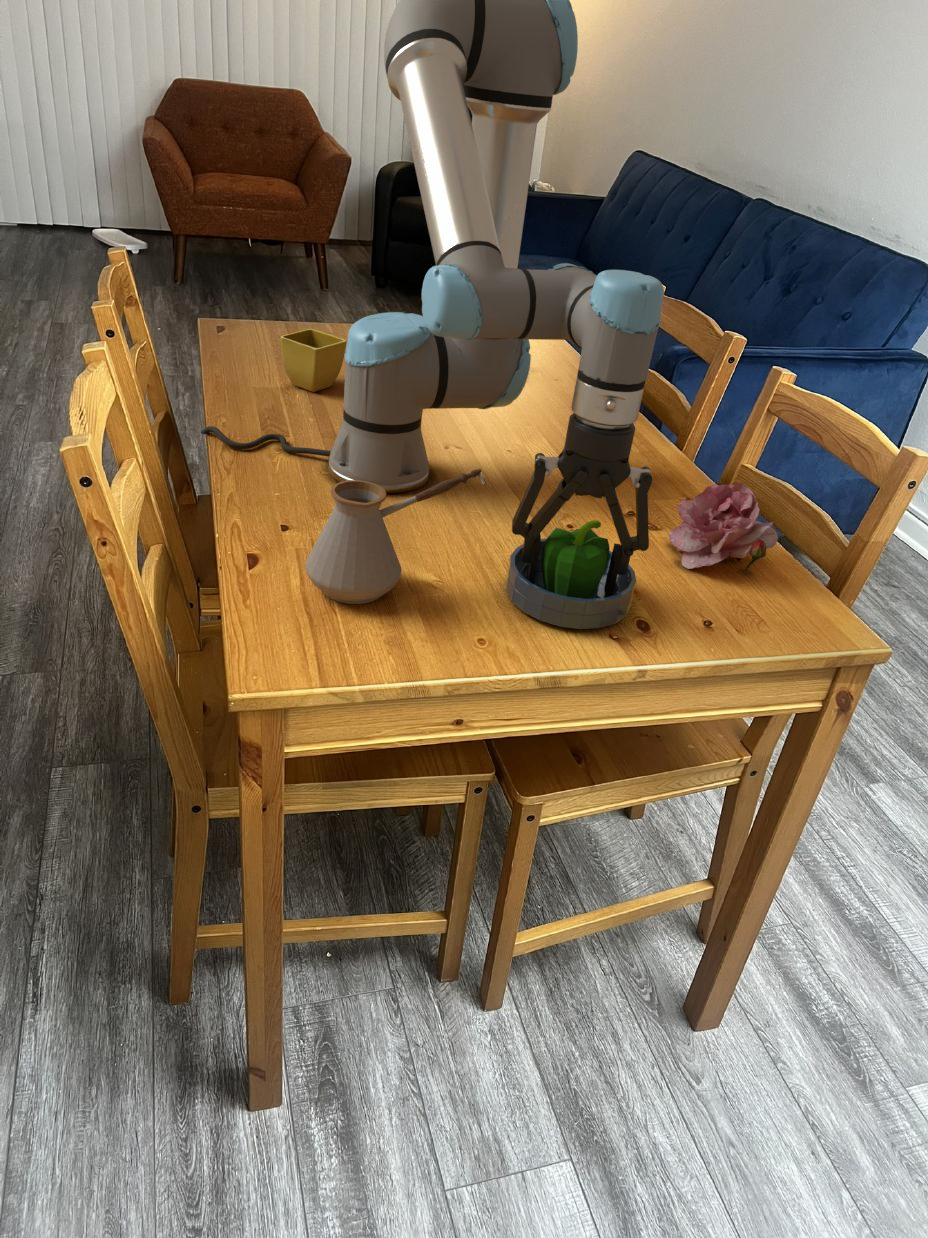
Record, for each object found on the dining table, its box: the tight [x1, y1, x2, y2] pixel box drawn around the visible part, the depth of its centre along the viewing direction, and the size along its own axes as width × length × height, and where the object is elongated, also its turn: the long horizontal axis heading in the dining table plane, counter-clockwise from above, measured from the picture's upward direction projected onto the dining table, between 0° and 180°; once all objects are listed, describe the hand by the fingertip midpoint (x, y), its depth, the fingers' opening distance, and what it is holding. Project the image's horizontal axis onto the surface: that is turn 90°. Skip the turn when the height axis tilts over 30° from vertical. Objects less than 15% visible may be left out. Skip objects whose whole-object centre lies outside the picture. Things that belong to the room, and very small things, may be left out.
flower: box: [668, 483, 779, 573], centre depth 130 cm, size 15×15×10 cm
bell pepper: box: [541, 519, 610, 599], centre depth 115 cm, size 8×8×10 cm
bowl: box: [505, 537, 637, 630], centre depth 117 cm, size 16×16×4 cm
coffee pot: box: [305, 468, 487, 605], centre depth 112 cm, size 21×12×15 cm, turn 110°
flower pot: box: [279, 328, 348, 393], centre depth 171 cm, size 9×9×9 cm
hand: (568, 589), depth 118 cm, fingers open, 9 cm apart
